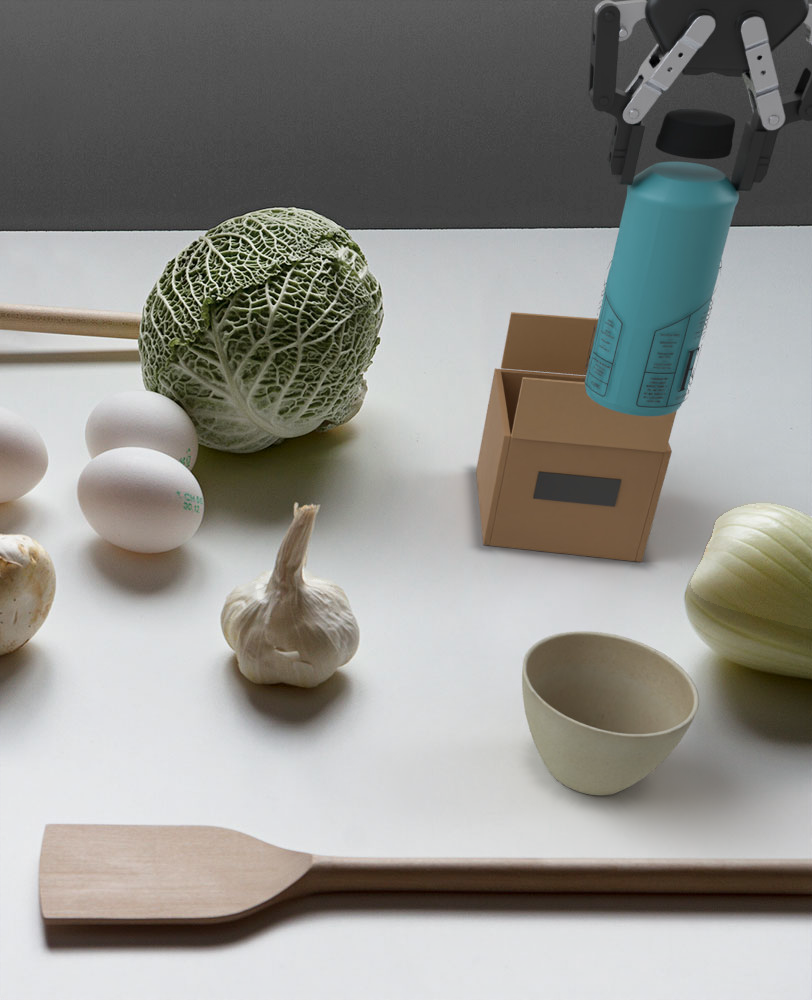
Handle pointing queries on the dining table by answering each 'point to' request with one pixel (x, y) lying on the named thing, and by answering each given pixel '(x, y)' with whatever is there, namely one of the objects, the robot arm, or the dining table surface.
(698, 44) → the robot arm
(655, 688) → the beige bowl
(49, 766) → the dining table surface
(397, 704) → the dining table surface
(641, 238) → the beverage bottle
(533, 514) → the carton
